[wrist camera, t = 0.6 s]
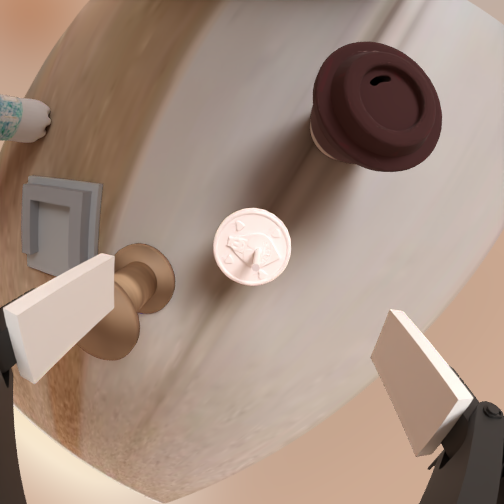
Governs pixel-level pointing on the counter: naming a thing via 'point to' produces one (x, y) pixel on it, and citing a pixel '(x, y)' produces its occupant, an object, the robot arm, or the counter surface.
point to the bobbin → (131, 300)
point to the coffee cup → (374, 108)
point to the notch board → (59, 223)
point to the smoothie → (252, 246)
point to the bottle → (22, 119)
